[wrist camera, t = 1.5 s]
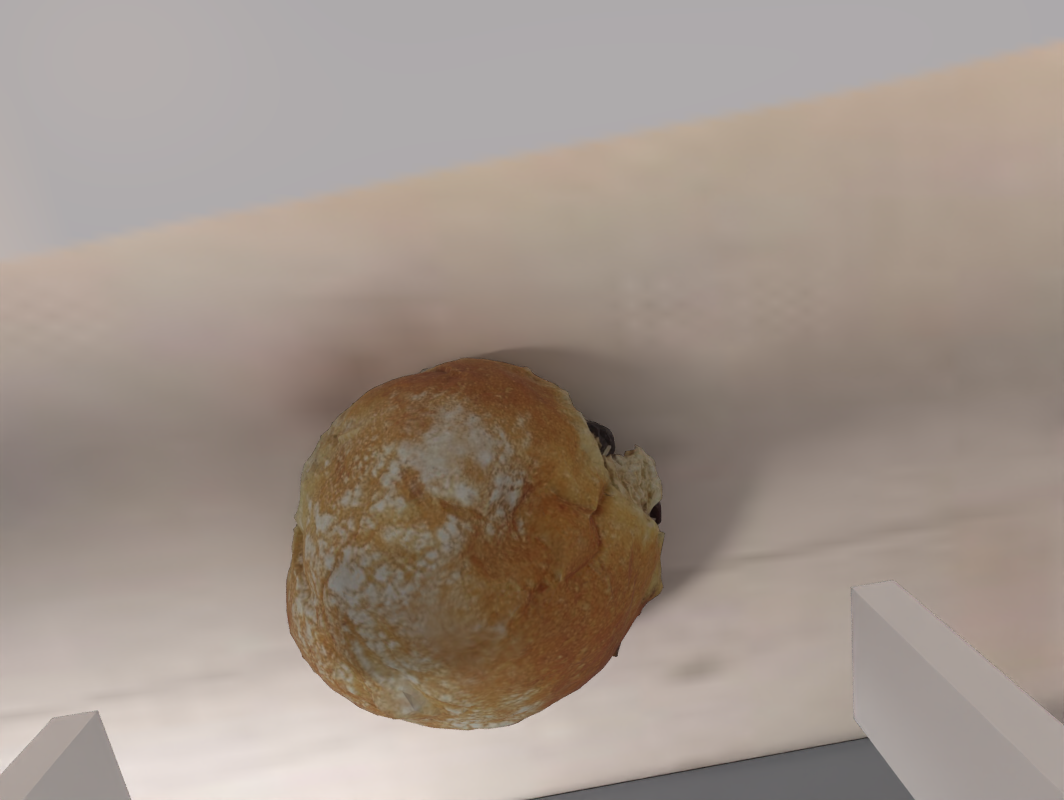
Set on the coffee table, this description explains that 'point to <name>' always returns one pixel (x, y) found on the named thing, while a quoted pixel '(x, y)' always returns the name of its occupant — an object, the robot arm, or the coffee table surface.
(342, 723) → the coffee table surface
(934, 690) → the robot arm
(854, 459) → the coffee table surface
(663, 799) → the grey tray
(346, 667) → the bread roll
